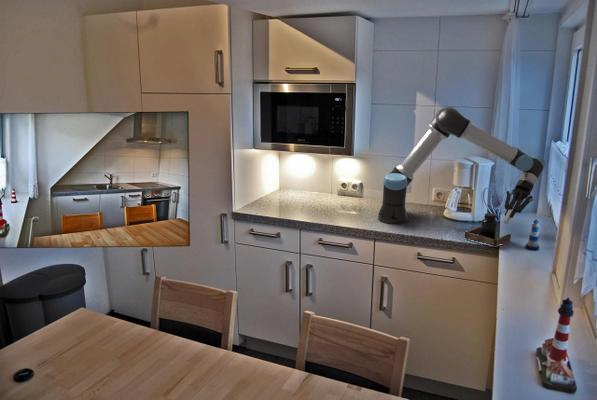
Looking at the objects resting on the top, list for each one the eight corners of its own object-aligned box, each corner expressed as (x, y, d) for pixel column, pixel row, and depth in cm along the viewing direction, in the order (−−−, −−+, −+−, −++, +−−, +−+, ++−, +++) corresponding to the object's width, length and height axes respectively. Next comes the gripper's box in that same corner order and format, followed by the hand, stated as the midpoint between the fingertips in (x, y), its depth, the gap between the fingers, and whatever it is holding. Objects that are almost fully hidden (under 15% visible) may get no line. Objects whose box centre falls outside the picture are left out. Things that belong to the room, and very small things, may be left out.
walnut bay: (464, 239, 217) (465, 232, 216) (479, 233, 226) (480, 226, 225) (495, 248, 206) (496, 240, 205) (510, 241, 215) (511, 234, 214)
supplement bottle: (488, 236, 222) (492, 211, 219) (498, 240, 215) (502, 216, 212) (476, 237, 220) (479, 212, 217) (486, 242, 214) (489, 217, 210)
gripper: (541, 190, 229) (520, 229, 223) (514, 185, 238) (494, 222, 232) (538, 181, 224) (517, 221, 218) (511, 176, 234) (490, 214, 227)
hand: (505, 222), depth 225 cm, fingers closed
